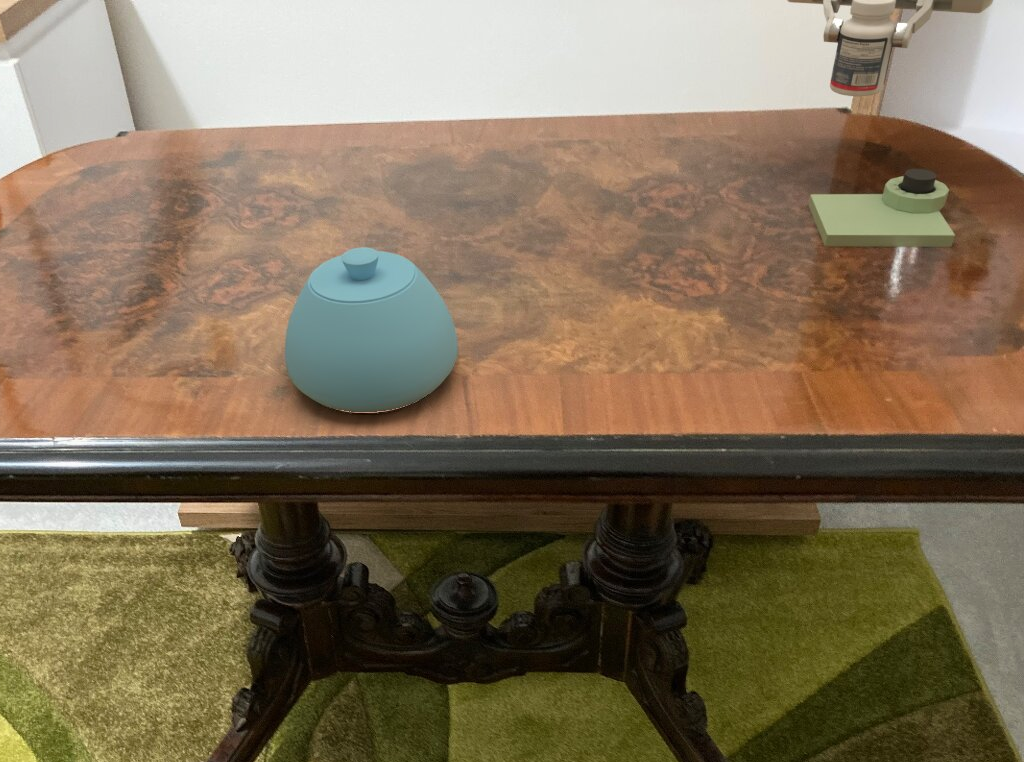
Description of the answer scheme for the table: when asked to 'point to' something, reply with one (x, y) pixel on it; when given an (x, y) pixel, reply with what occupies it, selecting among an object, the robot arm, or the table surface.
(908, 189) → the button
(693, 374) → the table surface
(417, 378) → the sugar bowl
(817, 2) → the robot arm
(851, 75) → the pill bottle
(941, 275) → the table surface
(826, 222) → the scale
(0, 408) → the table surface
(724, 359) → the table surface
